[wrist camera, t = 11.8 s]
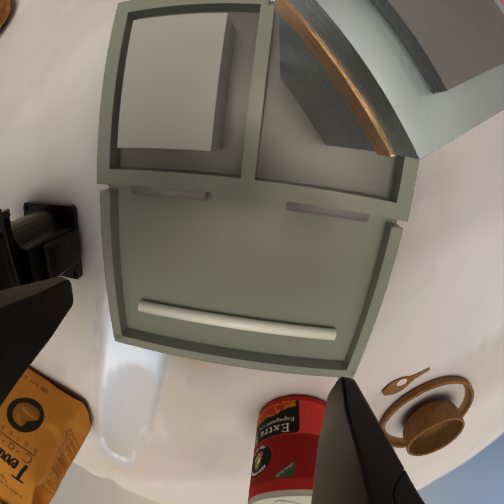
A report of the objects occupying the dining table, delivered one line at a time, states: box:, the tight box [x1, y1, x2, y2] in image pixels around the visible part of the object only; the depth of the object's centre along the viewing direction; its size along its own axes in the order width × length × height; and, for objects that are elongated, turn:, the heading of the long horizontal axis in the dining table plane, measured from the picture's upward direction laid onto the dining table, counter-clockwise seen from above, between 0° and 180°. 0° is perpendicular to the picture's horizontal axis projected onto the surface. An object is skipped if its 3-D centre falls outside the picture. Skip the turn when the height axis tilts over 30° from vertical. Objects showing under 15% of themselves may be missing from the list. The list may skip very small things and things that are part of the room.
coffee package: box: [0, 367, 91, 504], centre depth 21 cm, size 10×12×22 cm
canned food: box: [248, 396, 326, 504], centre depth 22 cm, size 8×8×11 cm
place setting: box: [380, 367, 474, 456], centre depth 25 cm, size 18×20×6 cm
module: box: [275, 0, 504, 159], centre depth 9 cm, size 5×5×14 cm
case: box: [97, 0, 419, 378], centre depth 18 cm, size 20×26×4 cm
